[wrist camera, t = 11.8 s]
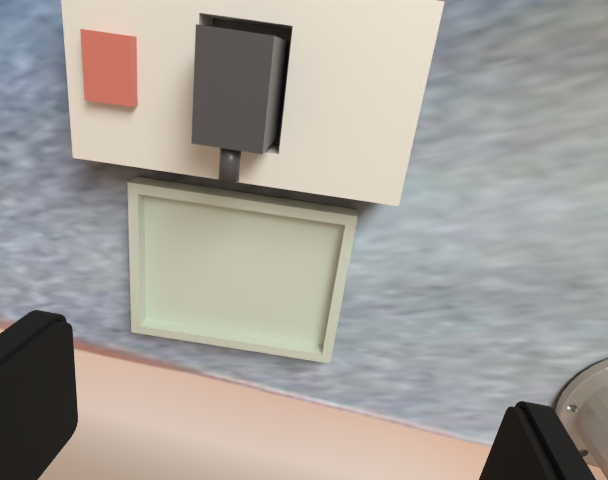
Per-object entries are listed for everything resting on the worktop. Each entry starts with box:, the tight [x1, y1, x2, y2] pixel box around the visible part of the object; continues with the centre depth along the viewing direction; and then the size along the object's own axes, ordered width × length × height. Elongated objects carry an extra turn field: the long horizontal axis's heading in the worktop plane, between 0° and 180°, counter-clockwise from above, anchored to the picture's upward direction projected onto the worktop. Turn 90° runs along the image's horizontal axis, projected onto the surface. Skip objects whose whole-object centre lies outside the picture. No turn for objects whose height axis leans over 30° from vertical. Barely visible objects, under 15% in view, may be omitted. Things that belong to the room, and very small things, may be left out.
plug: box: [191, 24, 289, 182], centre depth 27 cm, size 4×8×7 cm, turn 172°
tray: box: [127, 177, 358, 363], centre depth 36 cm, size 18×14×2 cm
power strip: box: [61, 0, 444, 206], centre depth 29 cm, size 22×12×6 cm, turn 83°
